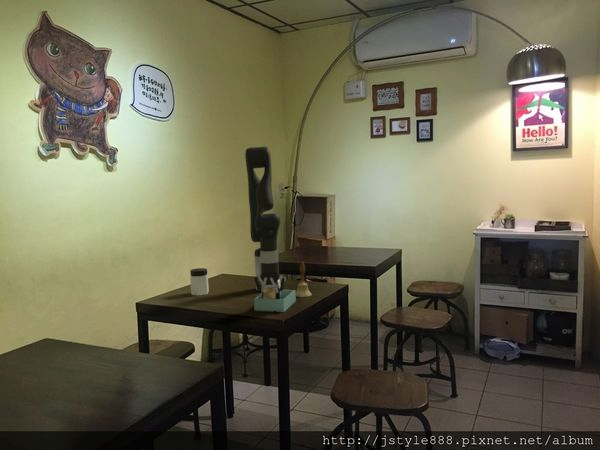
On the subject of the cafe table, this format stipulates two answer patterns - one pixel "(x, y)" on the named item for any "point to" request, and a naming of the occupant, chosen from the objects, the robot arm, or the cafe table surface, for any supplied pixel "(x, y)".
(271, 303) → the tote
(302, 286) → the hand bell
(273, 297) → the cube
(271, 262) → the robot arm
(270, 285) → the cylinder
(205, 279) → the jar
